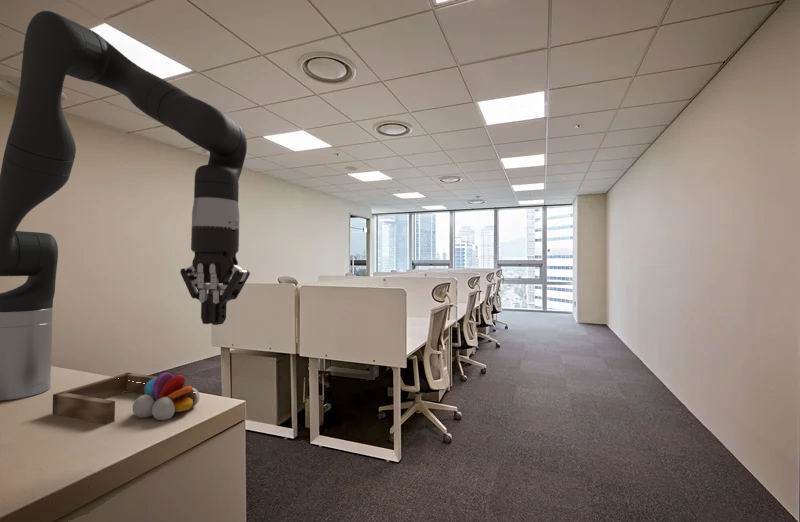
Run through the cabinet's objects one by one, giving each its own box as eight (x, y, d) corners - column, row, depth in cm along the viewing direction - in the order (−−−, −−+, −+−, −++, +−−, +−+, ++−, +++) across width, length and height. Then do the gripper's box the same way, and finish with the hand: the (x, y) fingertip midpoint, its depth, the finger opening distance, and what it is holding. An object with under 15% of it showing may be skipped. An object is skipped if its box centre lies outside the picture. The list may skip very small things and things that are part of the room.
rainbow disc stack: (170, 425, 61) (171, 383, 61) (123, 419, 63) (124, 378, 63) (206, 406, 70) (207, 369, 70) (164, 401, 72) (165, 365, 72)
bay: (52, 413, 65) (53, 394, 65) (127, 388, 78) (128, 372, 78) (107, 424, 61) (107, 403, 61) (176, 396, 74) (176, 379, 74)
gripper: (166, 224, 62) (164, 324, 62) (233, 223, 59) (230, 330, 58) (201, 228, 69) (199, 318, 69) (262, 228, 66) (260, 323, 66)
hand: (213, 323), depth 64 cm, fingers closed
